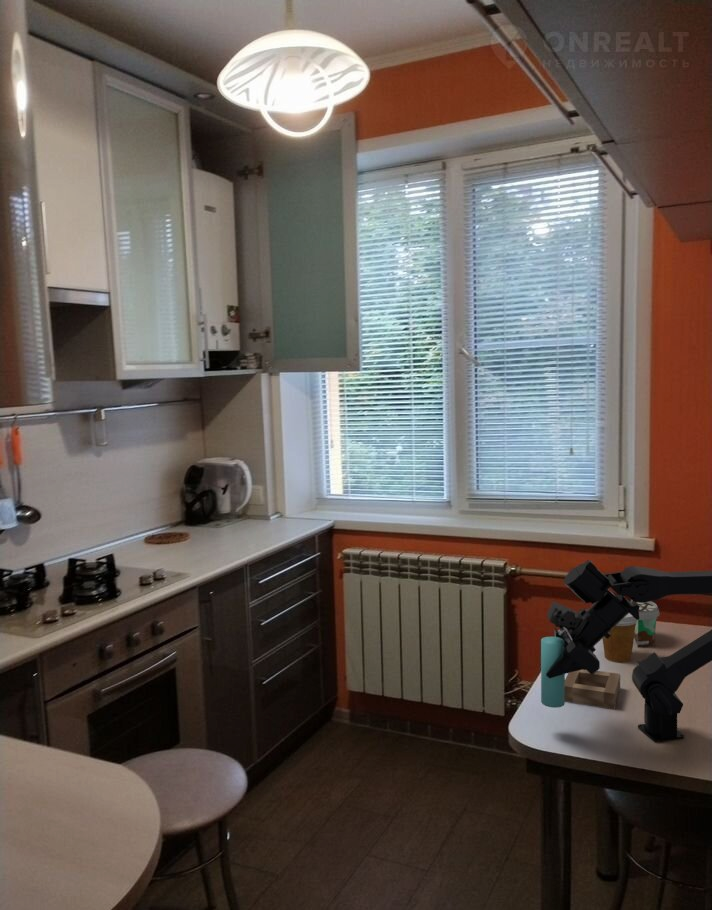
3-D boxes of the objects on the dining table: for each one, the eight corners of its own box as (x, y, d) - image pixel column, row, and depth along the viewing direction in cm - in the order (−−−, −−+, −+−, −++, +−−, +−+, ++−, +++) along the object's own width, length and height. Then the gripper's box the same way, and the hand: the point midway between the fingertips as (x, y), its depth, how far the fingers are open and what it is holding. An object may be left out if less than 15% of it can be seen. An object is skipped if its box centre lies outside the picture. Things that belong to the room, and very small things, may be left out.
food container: (663, 650, 189) (664, 612, 187) (638, 649, 190) (638, 612, 189) (654, 633, 201) (654, 598, 199) (630, 632, 202) (630, 597, 201)
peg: (568, 706, 146) (568, 643, 145) (547, 708, 146) (547, 646, 144) (558, 696, 151) (558, 635, 149) (537, 698, 150) (537, 637, 149)
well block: (620, 688, 168) (620, 673, 167) (614, 709, 158) (614, 693, 157) (571, 681, 172) (571, 667, 172) (562, 700, 163) (562, 685, 162)
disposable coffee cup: (620, 648, 191) (620, 603, 190) (646, 661, 182) (646, 614, 181) (590, 654, 188) (589, 609, 187) (615, 667, 179) (615, 620, 178)
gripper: (562, 577, 154) (510, 628, 157) (581, 605, 136) (522, 662, 138) (601, 613, 155) (548, 663, 157) (625, 646, 136) (565, 702, 138)
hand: (545, 671), depth 148 cm, fingers closed on peg, 5 cm apart
